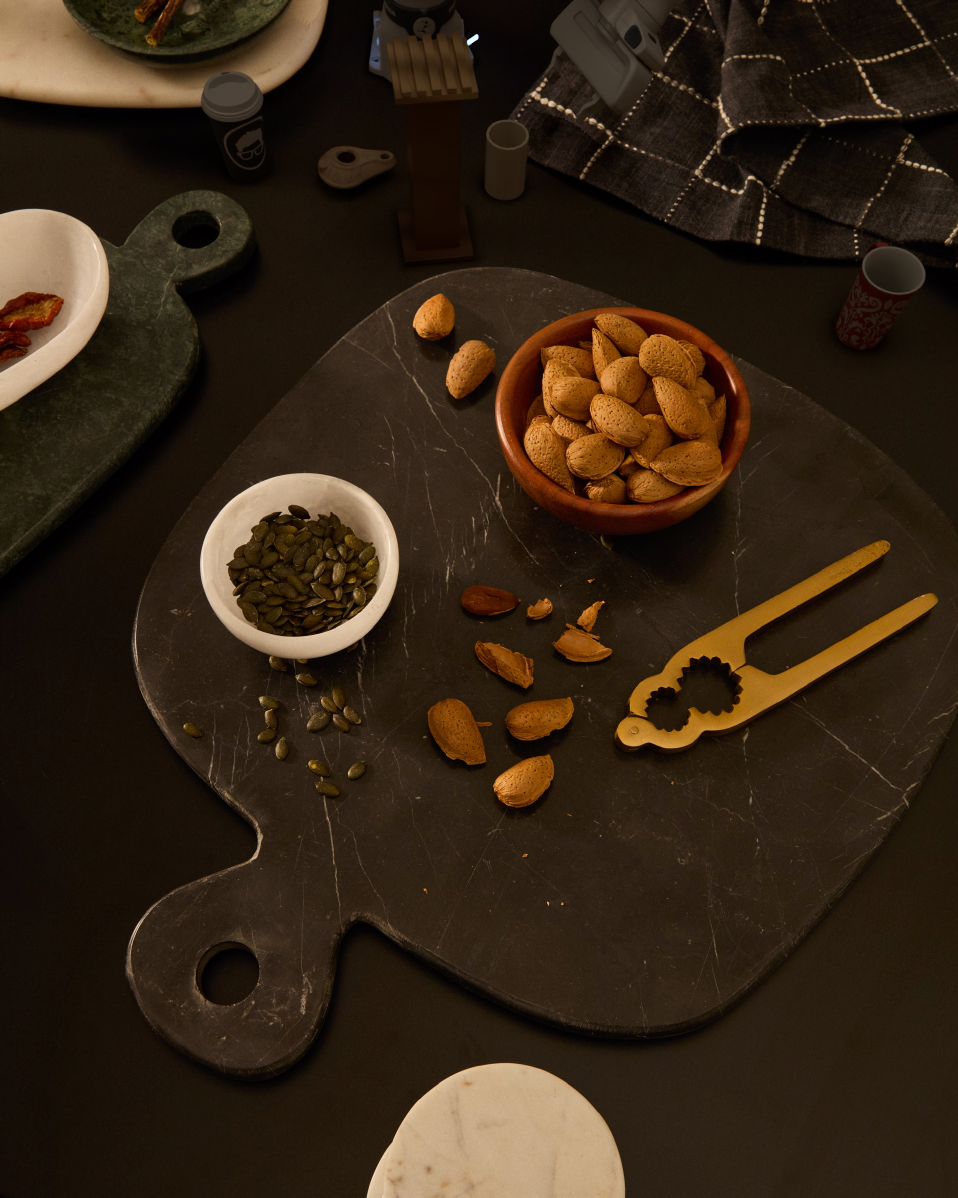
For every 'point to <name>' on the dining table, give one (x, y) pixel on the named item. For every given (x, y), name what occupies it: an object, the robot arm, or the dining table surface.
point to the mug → (878, 295)
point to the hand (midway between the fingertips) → (562, 98)
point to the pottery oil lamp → (353, 166)
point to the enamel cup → (506, 159)
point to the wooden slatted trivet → (431, 69)
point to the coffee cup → (237, 123)
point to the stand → (434, 186)
